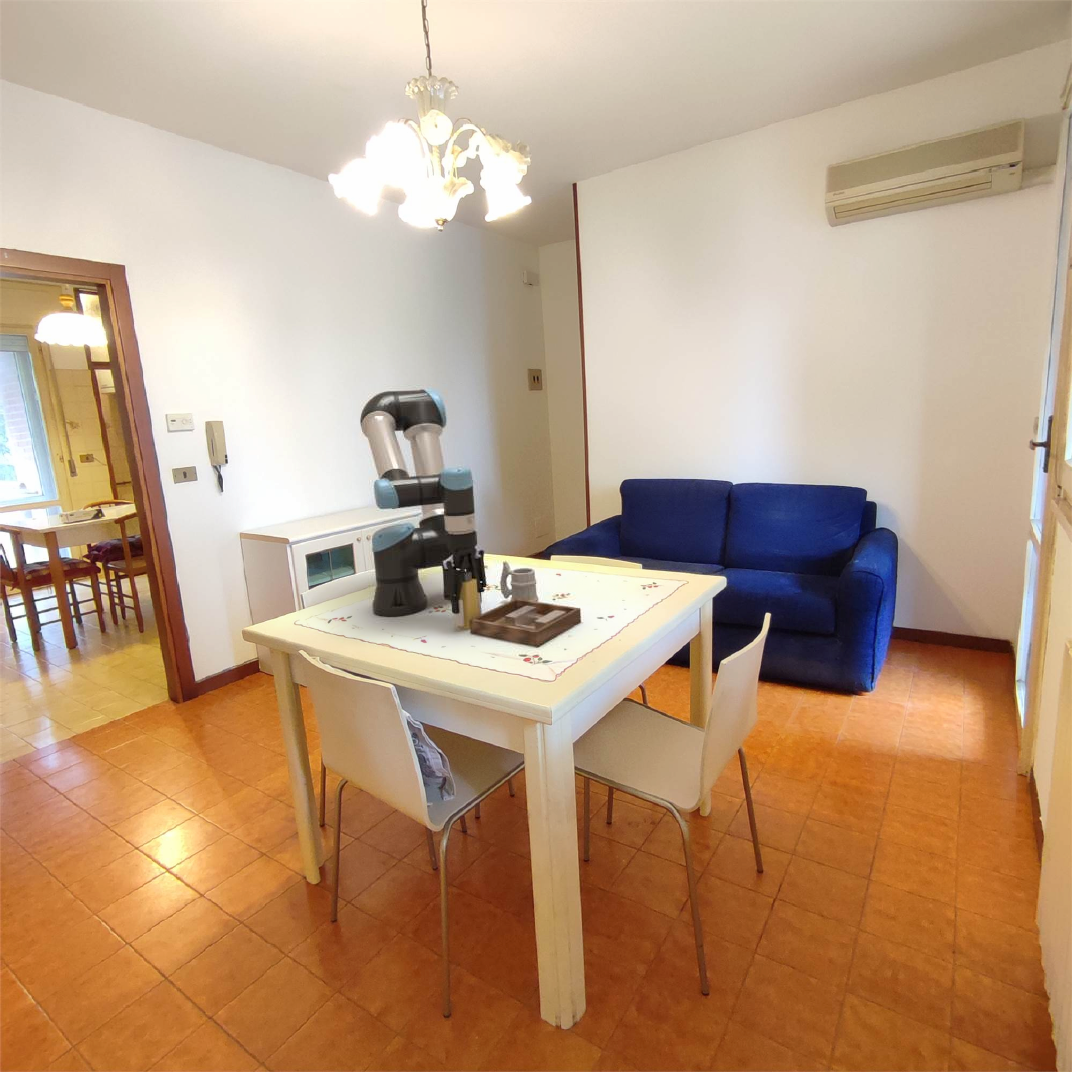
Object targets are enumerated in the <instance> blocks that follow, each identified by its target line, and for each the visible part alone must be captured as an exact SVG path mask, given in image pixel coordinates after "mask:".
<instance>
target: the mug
mask: <svg viewBox="0 0 1072 1072" xmlns="http://www.w3.org/2000/svg"><path fill="white" fill-rule="evenodd" d="M502 565H503V566H502V571H501V575H500V581H499V584H500V591H501V595H503V598H504V599H505V600H507V599H508V598H509V597H510V596H511V597H510V601H512V600H514V599H522V600H529V601H535V602H539V596H538V594H537V593H538V592H537V579H536V574H535V573H536V572H535V569H533V568H531V567H530V568H528V567H521V568H516V569H510V565H509V562H508V561H507V560H504V561H502ZM509 575H511V576H510V577H511V579H510V586H511V589H510V588H509V586H508V585H507V584H508V583H507V579H508V578H509Z"/></svg>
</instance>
